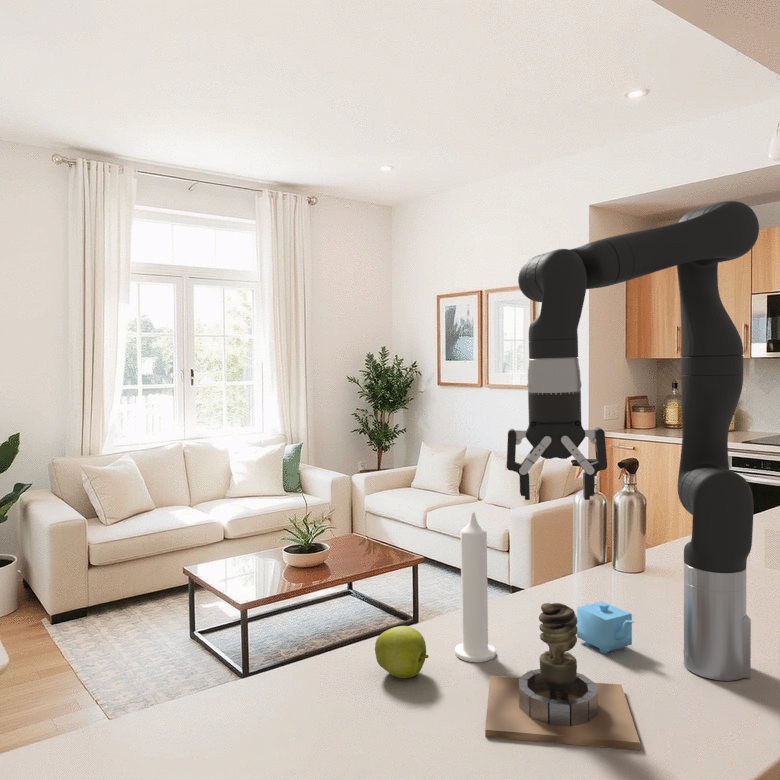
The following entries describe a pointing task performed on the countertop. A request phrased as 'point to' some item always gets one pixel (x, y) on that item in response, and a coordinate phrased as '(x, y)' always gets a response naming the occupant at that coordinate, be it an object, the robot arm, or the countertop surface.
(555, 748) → the countertop surface
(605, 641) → the teapot
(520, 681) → the ring seat
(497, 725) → the board
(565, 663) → the light bulb
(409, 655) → the apple
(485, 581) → the candle
